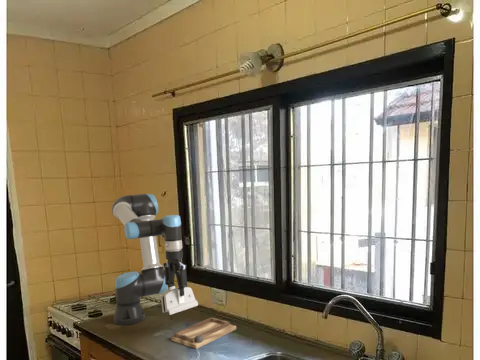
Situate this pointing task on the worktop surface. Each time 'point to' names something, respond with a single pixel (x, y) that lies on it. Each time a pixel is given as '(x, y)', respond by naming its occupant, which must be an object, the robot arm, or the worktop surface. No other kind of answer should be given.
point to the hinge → (172, 304)
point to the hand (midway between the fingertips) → (177, 302)
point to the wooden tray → (203, 332)
